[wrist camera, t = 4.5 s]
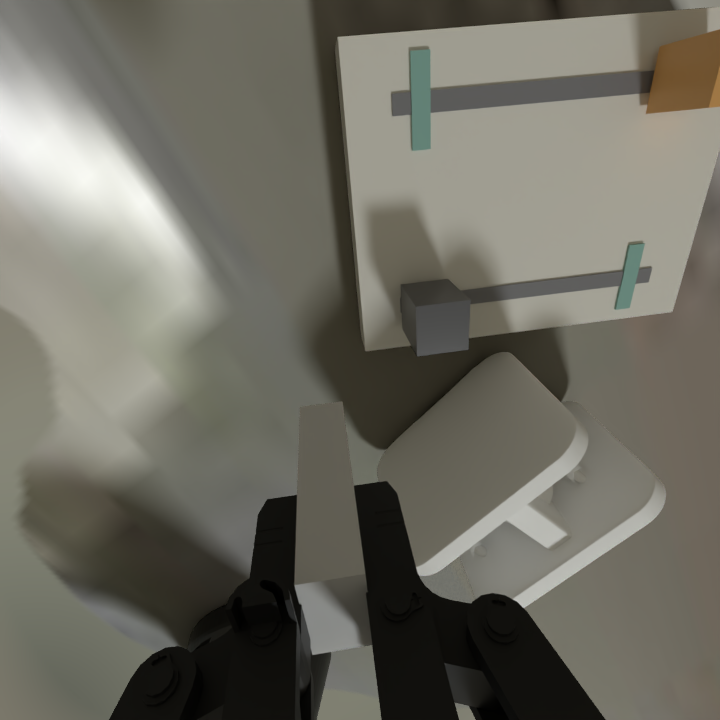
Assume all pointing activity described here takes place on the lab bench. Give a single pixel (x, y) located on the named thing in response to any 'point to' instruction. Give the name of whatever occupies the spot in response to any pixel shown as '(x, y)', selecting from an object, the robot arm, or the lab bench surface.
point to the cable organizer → (515, 484)
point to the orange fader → (687, 75)
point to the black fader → (435, 317)
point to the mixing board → (522, 170)
